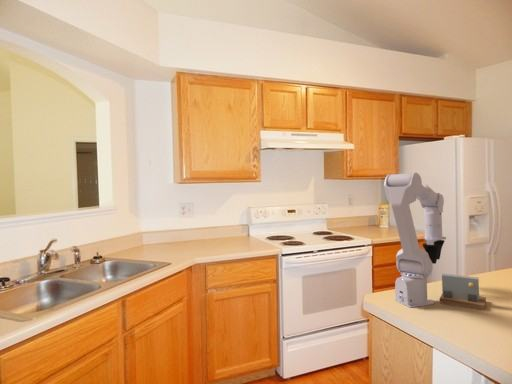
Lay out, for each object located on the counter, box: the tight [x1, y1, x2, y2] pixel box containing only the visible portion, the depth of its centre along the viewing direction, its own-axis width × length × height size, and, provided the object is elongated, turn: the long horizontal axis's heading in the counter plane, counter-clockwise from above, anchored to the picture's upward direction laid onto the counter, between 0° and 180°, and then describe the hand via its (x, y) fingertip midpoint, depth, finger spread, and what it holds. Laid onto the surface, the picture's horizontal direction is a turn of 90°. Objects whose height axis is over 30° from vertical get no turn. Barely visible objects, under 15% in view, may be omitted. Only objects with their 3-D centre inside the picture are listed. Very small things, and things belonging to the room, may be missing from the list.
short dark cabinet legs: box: [442, 291, 477, 302], centre depth 104 cm, size 5×9×2 cm, turn 52°
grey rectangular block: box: [441, 273, 480, 301], centre depth 104 cm, size 3×10×7 cm, turn 52°
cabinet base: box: [439, 292, 487, 311], centre depth 104 cm, size 9×12×2 cm
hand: (434, 261), depth 118 cm, fingers open, 7 cm apart
